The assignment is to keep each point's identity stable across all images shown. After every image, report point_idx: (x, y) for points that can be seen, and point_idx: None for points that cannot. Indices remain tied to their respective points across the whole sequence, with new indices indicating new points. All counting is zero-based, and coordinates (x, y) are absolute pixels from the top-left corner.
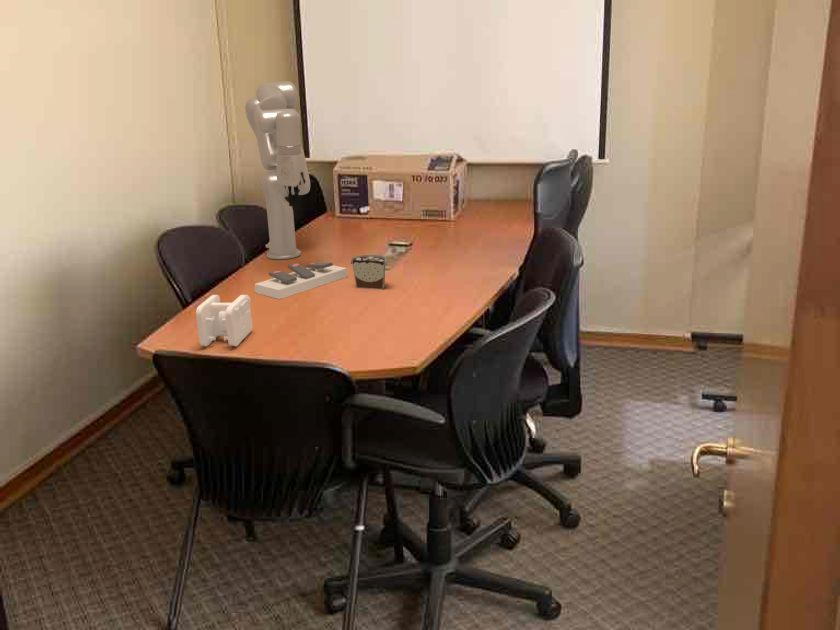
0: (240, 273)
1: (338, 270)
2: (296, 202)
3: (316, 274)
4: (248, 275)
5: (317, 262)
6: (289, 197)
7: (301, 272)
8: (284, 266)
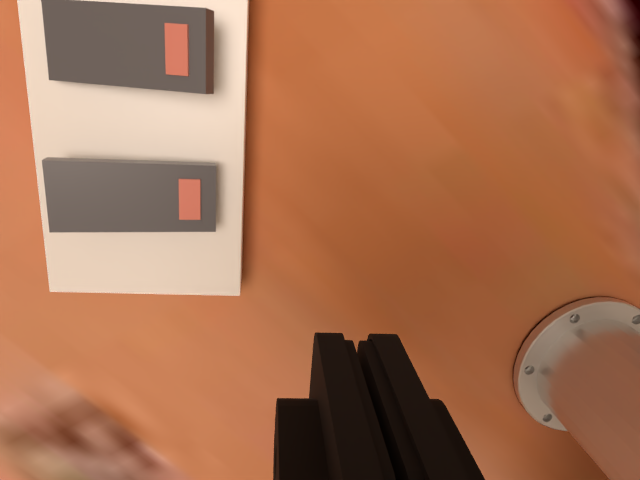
0: (595, 42)
1: (52, 239)
2: (276, 428)
3: (89, 117)
4: (533, 35)
5: (186, 229)
6: (411, 435)
7: (94, 14)
8: (469, 245)
